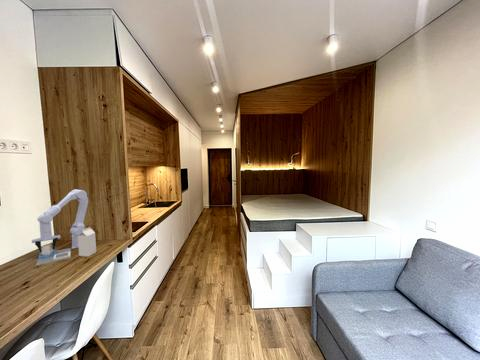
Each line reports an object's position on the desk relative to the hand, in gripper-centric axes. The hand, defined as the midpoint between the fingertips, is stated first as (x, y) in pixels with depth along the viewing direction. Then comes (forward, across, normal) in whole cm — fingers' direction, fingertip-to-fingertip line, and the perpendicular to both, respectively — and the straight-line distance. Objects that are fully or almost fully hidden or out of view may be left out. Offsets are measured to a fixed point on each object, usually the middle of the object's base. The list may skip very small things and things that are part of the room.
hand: (47, 250), depth 146 cm
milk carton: (+4, -22, +15) cm, 27 cm away
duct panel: (+4, -4, +5) cm, 7 cm away
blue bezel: (+4, 0, 0) cm, 4 cm away
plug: (+2, 0, 0) cm, 2 cm away
